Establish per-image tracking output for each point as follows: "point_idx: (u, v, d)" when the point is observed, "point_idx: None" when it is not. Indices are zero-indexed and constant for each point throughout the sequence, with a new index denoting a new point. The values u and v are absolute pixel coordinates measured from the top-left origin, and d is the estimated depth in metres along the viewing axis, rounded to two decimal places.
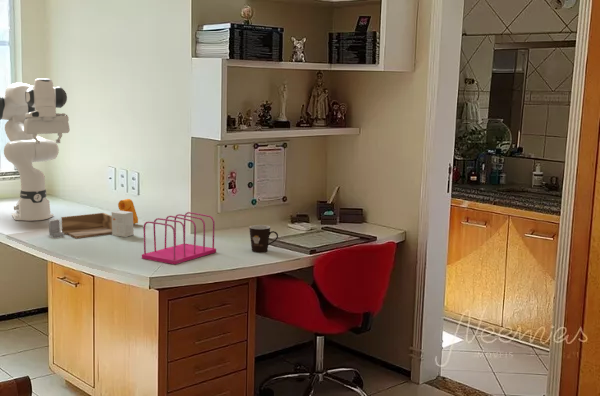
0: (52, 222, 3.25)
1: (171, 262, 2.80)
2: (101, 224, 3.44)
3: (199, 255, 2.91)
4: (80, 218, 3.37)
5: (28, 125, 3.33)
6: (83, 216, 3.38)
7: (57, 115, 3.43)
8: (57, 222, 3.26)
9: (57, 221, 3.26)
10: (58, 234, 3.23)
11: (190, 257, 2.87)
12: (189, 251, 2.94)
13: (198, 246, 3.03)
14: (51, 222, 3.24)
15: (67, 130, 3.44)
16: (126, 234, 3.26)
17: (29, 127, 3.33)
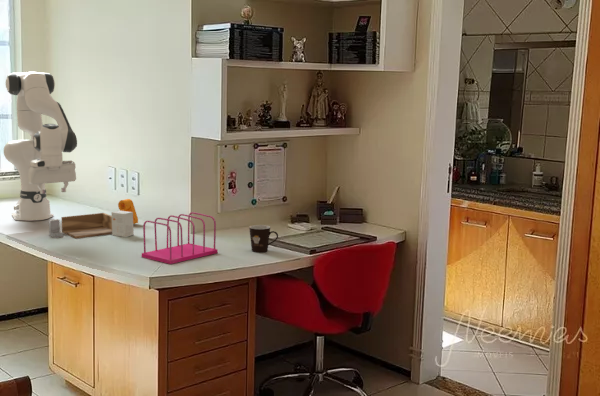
0: (52, 222, 3.25)
1: (167, 262, 2.80)
2: (101, 224, 3.44)
3: (198, 255, 2.90)
4: (80, 218, 3.37)
5: (33, 175, 3.15)
6: (83, 216, 3.38)
7: (64, 163, 3.25)
8: (57, 222, 3.26)
9: (57, 221, 3.26)
10: (58, 234, 3.23)
11: (188, 257, 2.86)
12: (189, 251, 2.94)
13: (201, 246, 3.03)
14: (51, 222, 3.24)
15: (73, 178, 3.27)
16: (126, 234, 3.26)
17: (34, 177, 3.16)
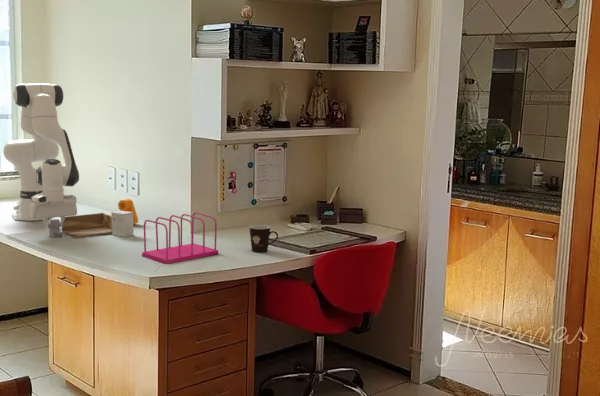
0: (52, 222, 3.25)
1: (164, 261, 2.81)
2: (101, 224, 3.44)
3: (197, 256, 2.90)
4: (80, 218, 3.37)
5: (34, 210, 3.18)
6: (83, 216, 3.38)
7: (65, 197, 3.27)
8: (57, 222, 3.26)
9: (57, 221, 3.26)
10: (58, 234, 3.23)
11: (186, 257, 2.86)
12: (189, 251, 2.94)
13: (203, 247, 3.02)
14: (51, 222, 3.24)
15: (75, 213, 3.30)
16: (126, 234, 3.26)
17: (35, 212, 3.19)
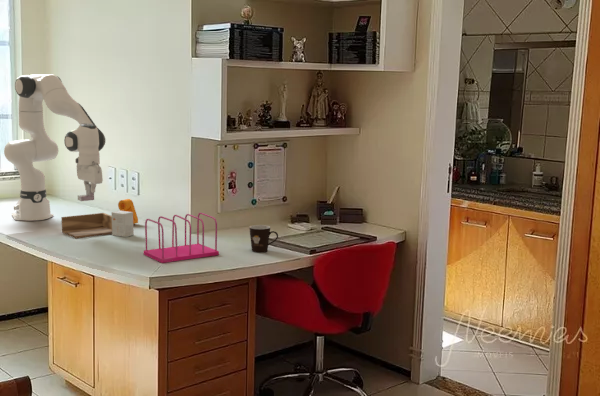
0: (86, 185, 3.29)
1: (159, 260, 2.82)
2: (101, 224, 3.44)
3: (195, 256, 2.89)
4: (80, 218, 3.37)
5: None
6: (83, 216, 3.38)
7: (93, 164, 3.23)
8: (88, 186, 3.28)
9: (88, 185, 3.27)
10: (79, 197, 3.27)
11: (183, 257, 2.86)
12: None
13: (206, 247, 3.01)
14: (86, 185, 3.30)
15: (94, 181, 3.21)
16: (126, 234, 3.26)
17: (78, 172, 3.34)
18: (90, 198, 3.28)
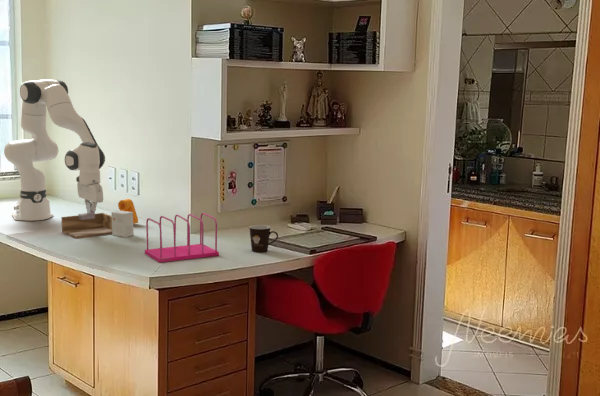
0: (87, 204, 3.30)
1: (157, 260, 2.83)
2: (101, 224, 3.44)
3: (194, 256, 2.89)
4: None
5: None
6: None
7: (93, 182, 3.24)
8: (89, 205, 3.29)
9: (89, 204, 3.29)
10: (80, 216, 3.28)
11: (181, 257, 2.86)
12: (189, 251, 2.93)
13: (207, 248, 3.00)
14: (87, 204, 3.31)
15: (94, 200, 3.22)
16: (126, 234, 3.26)
17: (78, 190, 3.35)
18: (91, 216, 3.29)
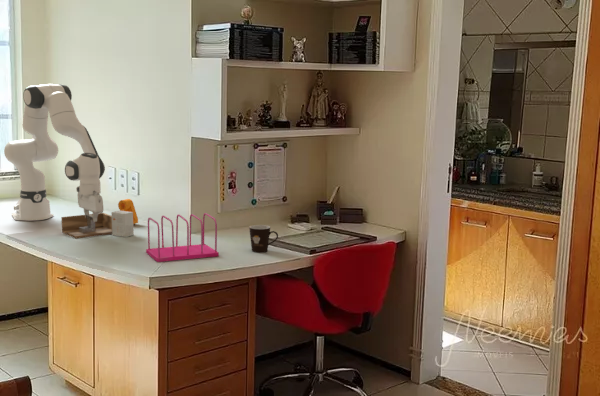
0: (87, 217, 3.32)
1: (156, 259, 2.84)
2: (101, 224, 3.44)
3: (193, 256, 2.89)
4: (80, 218, 3.37)
5: None
6: (83, 216, 3.38)
7: (93, 193, 3.25)
8: (89, 218, 3.30)
9: (89, 217, 3.30)
10: (80, 229, 3.29)
11: (180, 257, 2.86)
12: (189, 251, 2.93)
13: (208, 248, 3.00)
14: (87, 217, 3.32)
15: (94, 210, 3.23)
16: (126, 234, 3.26)
17: (79, 200, 3.36)
18: (91, 230, 3.30)
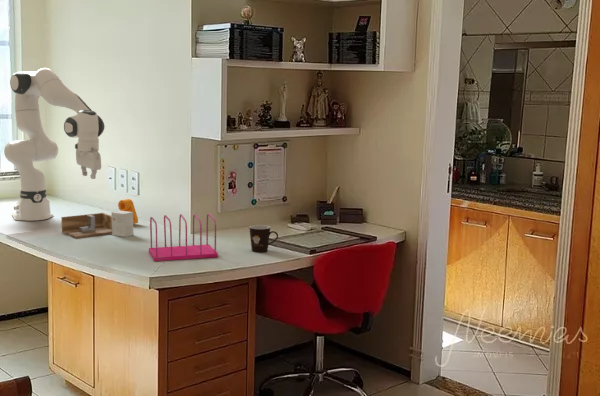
0: (87, 217, 3.32)
1: (153, 258, 2.85)
2: (101, 224, 3.44)
3: (191, 257, 2.88)
4: (80, 218, 3.37)
5: (76, 155, 3.37)
6: (83, 216, 3.38)
7: (92, 150, 3.26)
8: (89, 218, 3.30)
9: (89, 217, 3.30)
10: (80, 229, 3.29)
11: (177, 257, 2.86)
12: (189, 251, 2.93)
13: (210, 249, 2.99)
14: (87, 217, 3.32)
15: (92, 167, 3.24)
16: (126, 234, 3.26)
17: (77, 158, 3.37)
18: (91, 230, 3.30)
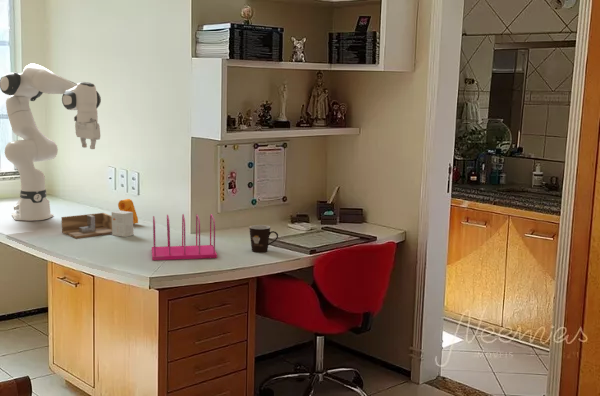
0: (87, 217, 3.32)
1: (152, 257, 2.86)
2: (101, 224, 3.44)
3: (189, 257, 2.88)
4: (80, 218, 3.37)
5: (75, 128, 3.44)
6: (83, 216, 3.38)
7: (91, 120, 3.33)
8: (89, 218, 3.30)
9: (89, 217, 3.30)
10: (80, 229, 3.29)
11: (176, 257, 2.87)
12: (189, 252, 2.93)
13: (211, 249, 2.98)
14: (87, 217, 3.32)
15: (92, 137, 3.31)
16: (126, 234, 3.26)
17: (76, 130, 3.44)
18: (91, 230, 3.30)
